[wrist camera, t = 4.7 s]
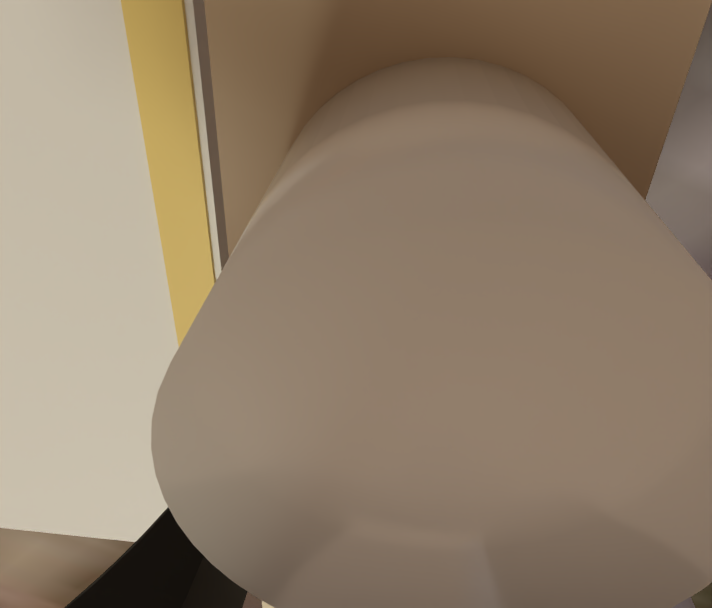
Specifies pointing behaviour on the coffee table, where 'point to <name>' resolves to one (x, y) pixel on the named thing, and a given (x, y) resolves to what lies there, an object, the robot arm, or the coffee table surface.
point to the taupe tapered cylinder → (447, 366)
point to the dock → (99, 249)
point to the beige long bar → (434, 40)
